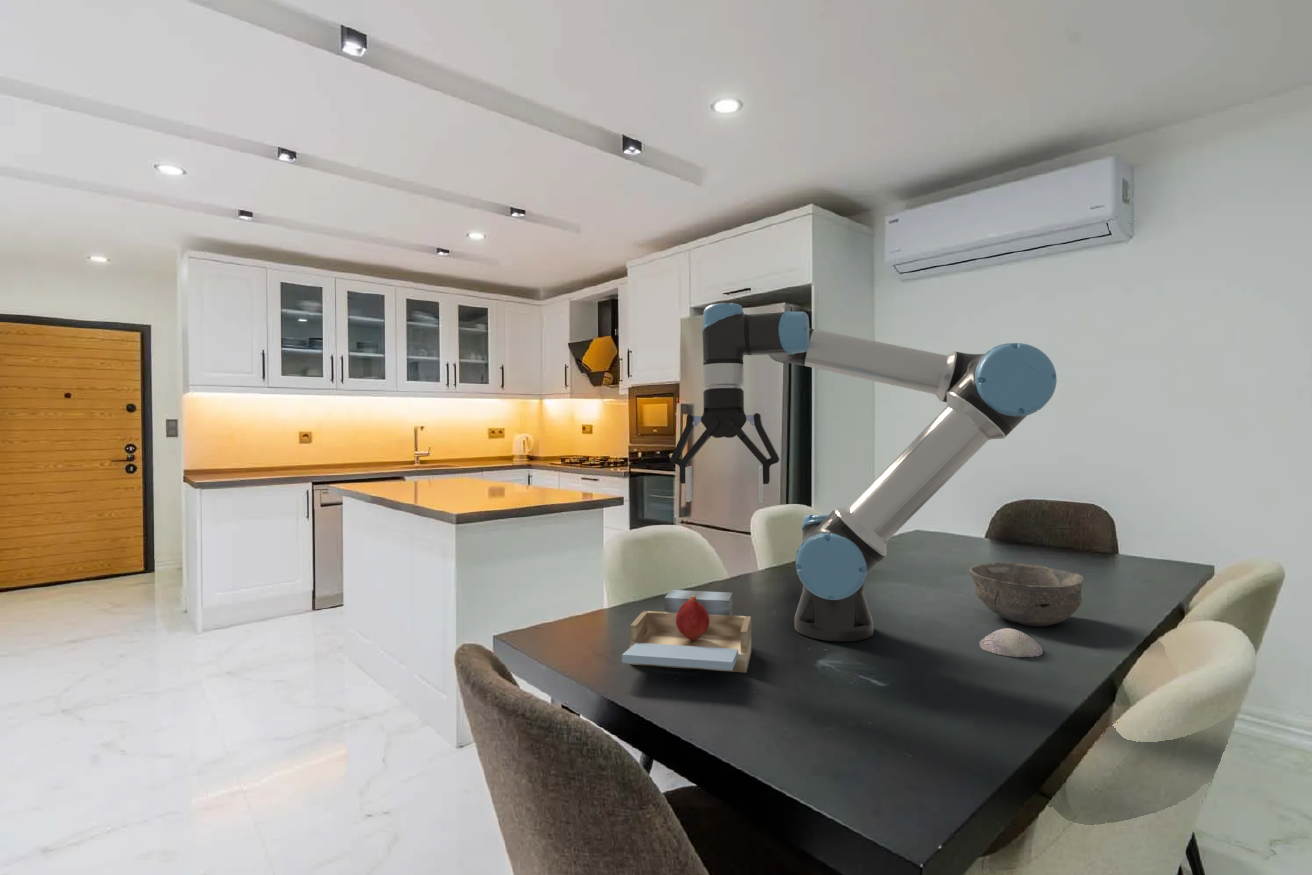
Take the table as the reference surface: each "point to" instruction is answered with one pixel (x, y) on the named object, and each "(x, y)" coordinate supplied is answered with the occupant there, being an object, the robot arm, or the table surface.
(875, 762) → the table surface
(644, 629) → the open wooden box
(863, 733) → the table surface
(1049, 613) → the bowl
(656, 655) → the panel
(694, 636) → the onion
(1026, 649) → the seashell
